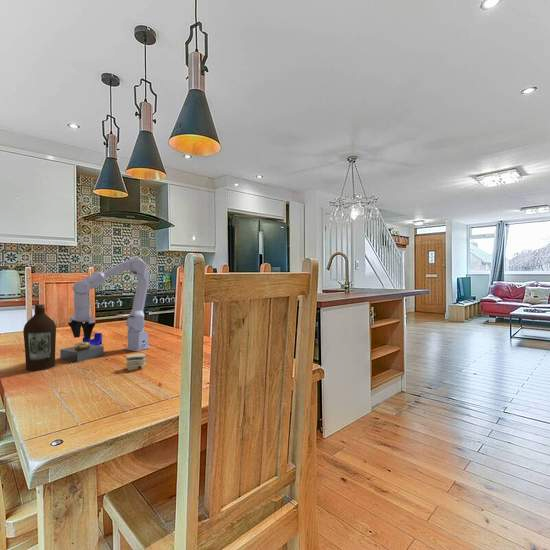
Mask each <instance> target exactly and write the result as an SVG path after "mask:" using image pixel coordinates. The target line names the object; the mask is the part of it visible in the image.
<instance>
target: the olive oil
mask: <svg viewBox="0 0 550 550" xmlns="http://www.w3.org/2000/svg"><path fill="white" fill-rule="evenodd" d="M45 307H46V306H45V304H44V303H43V304H35V305H34V315H32V317H30V319H29V320H28V321H27V322H26V323H25V324H24V327H23V330H22V331H23V332H22V333H23V342H24V343H23V344H24V353H25V369H26V371H31V372H32V371H43V370H46V369H50V368H53V367H54V366H56V343H57V342H56V340H57V338H56V337H57V325H56V322H55V321H54V319H52V318H50V316H49V315H48V314H46V308H45Z"/></svg>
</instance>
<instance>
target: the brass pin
mask: <svg viewBox="0 0 550 550" xmlns="http://www.w3.org/2000/svg"><path fill="white" fill-rule="evenodd" d="M74 347H75V349H78V350H79V349H87V348H89V347H90V343H89V342H83V341H81V342H76V343H75V344H74Z"/></svg>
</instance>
